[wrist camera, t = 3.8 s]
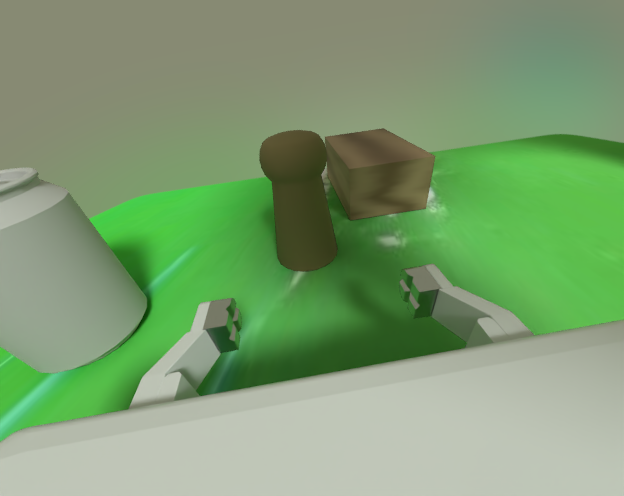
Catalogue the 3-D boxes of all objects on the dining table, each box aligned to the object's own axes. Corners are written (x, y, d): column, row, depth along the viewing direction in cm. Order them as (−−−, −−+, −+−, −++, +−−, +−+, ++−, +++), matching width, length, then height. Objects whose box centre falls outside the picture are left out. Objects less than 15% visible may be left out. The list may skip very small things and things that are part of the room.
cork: (281, 236, 27) (258, 128, 21) (336, 232, 27) (329, 120, 20) (273, 273, 23) (239, 148, 16) (339, 269, 22) (331, 138, 15)
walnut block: (381, 167, 41) (383, 128, 37) (425, 208, 29) (435, 156, 25) (327, 175, 41) (324, 136, 37) (350, 220, 29) (349, 169, 25)
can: (14, 367, 17) (-220, 220, 10) (108, 290, 23) (-2, 161, 16) (89, 392, 15) (-141, 231, 8) (172, 301, 21) (79, 158, 14)
